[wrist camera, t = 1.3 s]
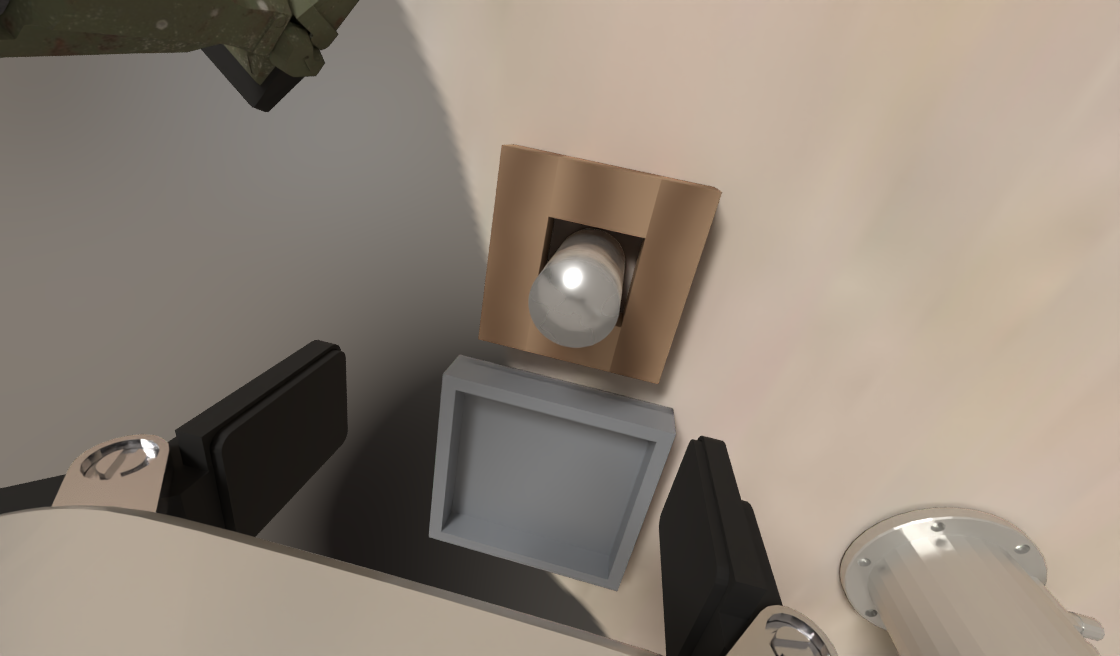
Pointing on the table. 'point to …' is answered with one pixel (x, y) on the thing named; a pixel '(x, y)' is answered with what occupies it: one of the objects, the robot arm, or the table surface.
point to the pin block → (604, 202)
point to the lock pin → (579, 290)
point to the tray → (545, 469)
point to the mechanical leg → (186, 35)
